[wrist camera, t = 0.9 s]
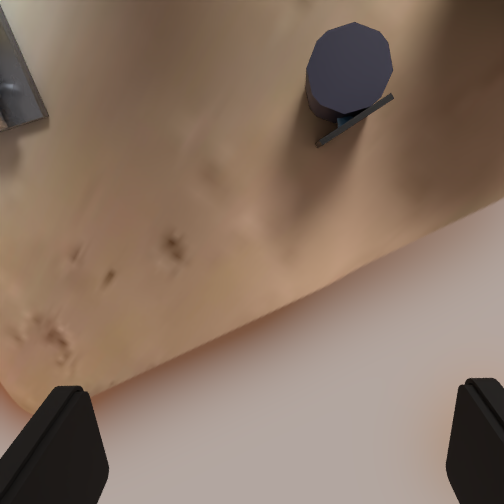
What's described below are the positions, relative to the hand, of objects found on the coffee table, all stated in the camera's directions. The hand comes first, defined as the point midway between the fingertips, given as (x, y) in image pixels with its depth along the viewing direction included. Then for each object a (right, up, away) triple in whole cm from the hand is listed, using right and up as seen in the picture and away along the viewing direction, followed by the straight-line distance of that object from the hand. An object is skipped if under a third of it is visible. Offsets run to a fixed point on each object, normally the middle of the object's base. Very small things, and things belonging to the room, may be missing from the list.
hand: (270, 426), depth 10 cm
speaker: (+6, +19, +24) cm, 31 cm away
